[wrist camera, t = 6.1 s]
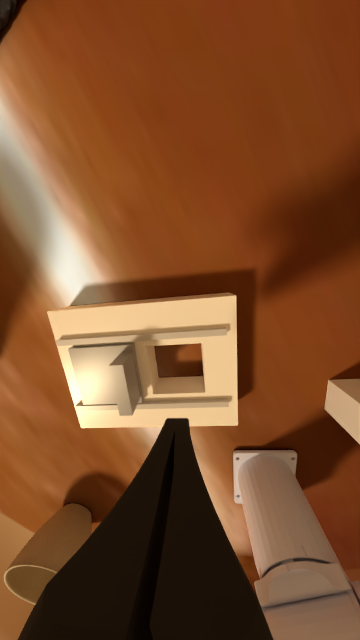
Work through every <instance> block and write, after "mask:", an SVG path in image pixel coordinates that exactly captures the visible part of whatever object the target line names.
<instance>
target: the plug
mask: <svg viewBox="0 0 360 640" xmlns="http://www.w3.org/2000/svg"><path fill="white" fill-rule="evenodd" d="M325 410H326V411H327V412H328V413H329V414H330V415H331V416H332V417H333V418H334V419H335V420H336V421H337V422H338V423H339V424H340V425H341V426H342V427H343V428H344V429H345V430H346V431H347V432H348V433H349V434H350V435H351V436H352V437H353V438H354V439H355V440H356V441H357V442H358V443H359V444H360V379H341V380H328V387H327V395H326V402H325Z"/></svg>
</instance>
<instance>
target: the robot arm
mask: <svg viewBox="0 0 360 640" xmlns="http://www.w3.org/2000/svg"><path fill="white" fill-rule="evenodd" d="M296 463H297V453H296V452H295V451H294V450H236V451H234V452H233V472H234V500H235V502H236V503H241V504H242V505H243V509H244V514H245V518H246V523H247V527H248V532H249V537H250V541H251V546H252V550H253V555H254V559H255V564H256V567H257V570H258V573H259V577H260V580H258V581H255V582H254V583H255V588H256V593H257V595H256V593H255V592H254V590H253V588H252V586H251V584H250V582H249V580H248V578H247V576H246V574H245V572H244V570H243V568H242V566H241V564H240V562H239V560H238V558H237V556H236V554H235V552H234V550H233V548H232V546H231V544H230V542H229V540H228V538H227V535H226V533H225V531H224V529H223V526H222V524H221V522H220V520H219V517H218V515H217V513H216V511H215V508H214V506H213V504H212V501H211V499H210V496H209V494H208V491H207V488H206V486H205V483H204V480H203V478H202V475H201V472H200V469H199V466H198V463H197V459H196V456H195V452H194V449H193V445H192V441H191V436H190V427H189V419H188V418H167V419H166V420H165V423H164V425H163V427H162V430H161V432H160V434H159V436H158V438H157V440H156V442H155V444H154V446H153V447H152V449H151V451H150V453H149V455H148V456H147V458H146V460H145V461H144V463H143V465H142V466H141V468H140V470H139V471H138V473H137V474H136V476H135V478H134V479H133V481H132V482H131V484H130V485H129V486H128V488H127V489H126V491H125V492H124V494H123V495H122V496H121V498H120V499H119V500H118V502H117V503H116V504H115V506H114V507H113V508H112V510H111V511H110V512H109V514H108V515H107V516H106V517H105V519H104V520H103V521H102V522H101V523H100V525H99V526H98V527H97V528H96V529H95V531H94V532H93V533H92V534H91V535H90V537H89V538H88V539H87V540H86V541H85V543H84V544H83V545H82V546H81V547H80V548H79V549H78V551H77V552H76V553H75V554H74V555H73V556H72V557H71V558H70V559H69V560H68V561H67V562H66V564H65V565H64V566H63V567H62V568H61V569H60V570H59V571H58V572H57V573H56V574H55V576H54V577H53V578H52V579H51V580H50V581H49V582H48V583H47V584H46V586H45V588H44V590H43V592H42V594H41V595H40V597H39V599H38V601H37V603H36V604H35V606H34V608H33V610H32V612H31V614H30V616H29V618H28V620H27V622H26V624H25V626H24V628H23V630H22V632H21V634H20V636H19V638H18V640H360V581H358V580H356V581H354V582H352V583H351V582H350V580H349V578H348V577H347V575H346V574H345V572H344V570H343V569H342V567H341V565H340V563H339V561H338V559H337V557H336V555H335V553H334V551H333V549H332V547H331V545H330V543H329V541H328V539H327V537H326V536H325V534H324V532H323V530H322V528H321V526H320V524H319V522H318V520H317V518H316V516H315V514H314V512H313V510H312V508H311V506H310V505H309V503H308V501H307V499H306V497H305V495H304V493H303V491H302V489H301V487H300V485H299V483H298V481H297V479H296V477H295V473H296Z"/></svg>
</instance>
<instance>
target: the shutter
mask: <svg viewBox="0 0 360 640" xmlns="http://www.w3.org/2000/svg"><path fill="white" fill-rule="evenodd" d="M68 351H69V355H70V358H71V362H72V366H73V369H74V373H75V377H76V380H77V384H78V387H79V391H80V395H81V398H82V402H83V405H93V404H117V406H118V411H119V415H120V416H133V413H134V411H135V409H136V406H137V404H138V403H142V402H143V400H144V398H143V392H142V386H141V380H140V374H139V368H138V363H137V357H136V351H135V345H134V343H119V344H103V345H87V346H72V347H70V348H69V349H68Z"/></svg>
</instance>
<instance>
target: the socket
mask: <svg viewBox="0 0 360 640" xmlns="http://www.w3.org/2000/svg"><path fill="white" fill-rule="evenodd" d="M47 313H48V316H49V320H50V323H51V327H52V330H53V334H54V337H55V340H56V344H57V347H58V351H59V354H60V358H61V361H62V364H63V368H64V371H65V375H66V378H67V382H68V385H69V388H70V392H71V395H72V399H73V402H74V406H75V409H76V412H77V416H78V419H79V423H80V426H81V428H111V427H163V425H164V423H165V420H166V419H167V418H188V419H189V426H234V425H238V392H237V311H236V295H234V294H232V293H229V292H228V293H216V294H205V295H193V296H182V297H170V298H159V299H147V300H136V301H124V302H113V303H101V304H90V305H78V306H68V307H64V308H60V309H56V310H51V311H47ZM119 343H134V345H135V351H136V357H137V363H138V368H139V374H140V380H141V386H142V392H143V398H144V400H143V402H142V403H138V404H137V406H136V409H135V411H134V413H133V416H120V415H119V411H118V406H117V404H93V405H83V402H82V398H81V395H80V391H79V387H78V384H77V380H76V377H75V373H74V369H73V366H72V362H71V358H70V355H69V351H68V349H69V348H70V347H72V346H87V345H103V344H119ZM193 343H201V347H202V362H203V376H191V377H168V378H159V376H158V369H157V362H156V355H155V348H154V346H160V345H177V344H193Z"/></svg>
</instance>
